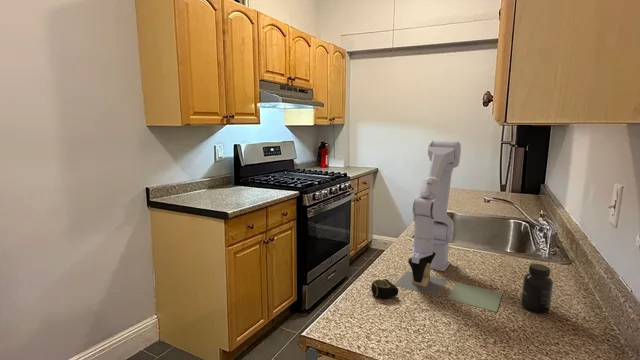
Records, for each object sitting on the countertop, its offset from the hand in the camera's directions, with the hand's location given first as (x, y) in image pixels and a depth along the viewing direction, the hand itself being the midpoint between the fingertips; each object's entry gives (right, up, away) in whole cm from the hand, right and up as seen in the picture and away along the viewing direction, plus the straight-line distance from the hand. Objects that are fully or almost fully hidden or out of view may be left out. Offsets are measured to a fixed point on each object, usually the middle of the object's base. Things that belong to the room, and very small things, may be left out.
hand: (421, 277), depth 112 cm
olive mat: (+13, -3, -8) cm, 16 cm away
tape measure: (-13, -3, -7) cm, 15 cm away
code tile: (0, -2, 0) cm, 2 cm away
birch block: (0, -2, 0) cm, 2 cm away
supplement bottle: (+27, -5, -15) cm, 31 cm away
